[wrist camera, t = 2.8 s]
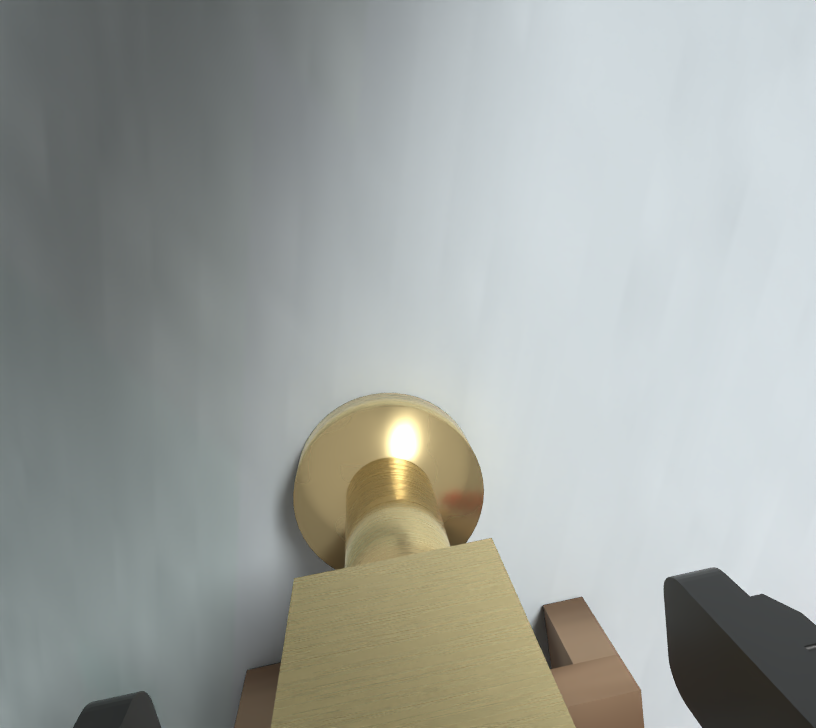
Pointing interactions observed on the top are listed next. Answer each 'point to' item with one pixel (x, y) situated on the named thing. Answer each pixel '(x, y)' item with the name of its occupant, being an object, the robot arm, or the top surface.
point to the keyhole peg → (404, 585)
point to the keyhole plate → (570, 666)
